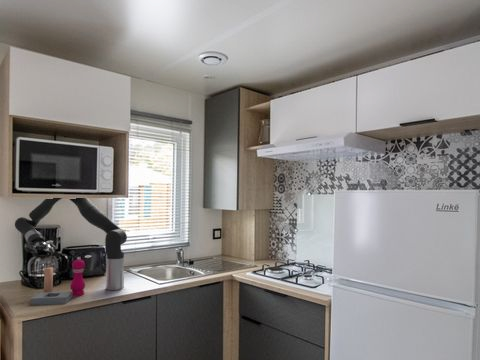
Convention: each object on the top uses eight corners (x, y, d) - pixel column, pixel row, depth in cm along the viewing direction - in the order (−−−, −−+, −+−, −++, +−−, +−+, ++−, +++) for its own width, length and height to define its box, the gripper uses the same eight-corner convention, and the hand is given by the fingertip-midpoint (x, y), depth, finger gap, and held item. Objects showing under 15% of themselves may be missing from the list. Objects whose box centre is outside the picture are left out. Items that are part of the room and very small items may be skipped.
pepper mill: (71, 297, 176) (72, 258, 177) (68, 293, 182) (70, 256, 183) (86, 295, 181) (87, 257, 181) (83, 291, 186) (84, 255, 187)
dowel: (53, 293, 182) (54, 267, 183) (50, 295, 178) (51, 269, 179) (45, 294, 181) (46, 267, 182) (42, 296, 177) (43, 269, 178)
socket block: (72, 297, 176) (72, 291, 176) (66, 303, 166) (66, 297, 167) (39, 298, 174) (39, 292, 174) (30, 304, 164) (30, 298, 164)
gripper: (22, 232, 184) (32, 248, 175) (49, 233, 195) (60, 247, 186) (18, 245, 185) (28, 261, 176) (45, 244, 197) (56, 259, 187)
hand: (45, 254), depth 181 cm, fingers open, 8 cm apart
